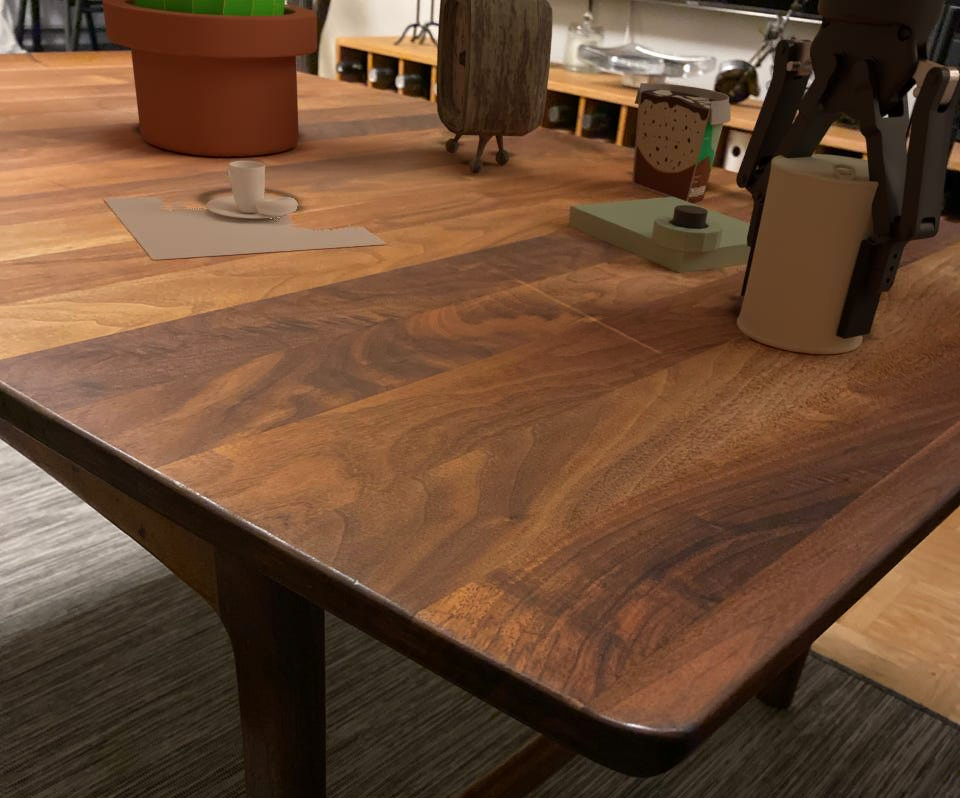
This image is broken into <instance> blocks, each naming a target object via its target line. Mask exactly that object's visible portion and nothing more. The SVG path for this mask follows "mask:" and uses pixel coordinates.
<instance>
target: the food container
mask: <svg viewBox="0 0 960 798" xmlns="http://www.w3.org/2000/svg"><path fill="white" fill-rule="evenodd" d="M634 105H637V117H636V118H637V119H636V128H635V129H636V131H635V142H634V153H633V167H632V179H631V181H632V182H631V185H634V186H637V187H638V188H639V187H640V188H642V189H644V190H648V191H650V192H652V193H653V192H654V193H656V194H659V195H662V196H664V197H675V198H678V199H681V200H684V201H687V202H690V203H692V204H696V203H699V202H702V201H703V200H704V198H705V195H706V190H707V187H708V184H709V183H708V182H709V179H710V176H711V172H712V168H713V165H714V161H715V157H716V154H717V153H716V152H717V149H718V145H719V142H720V139H721V138H720V137H721V134H722V131H723V130H722V129H723V126H724V124H727V123H729V122H731V121H732V119H731V115H732V113H731V112H732V111H731V110H732V109H731V108H732V106H731V103H730V96H729V95H728V94H725V93H724V92H723V93H722V92H719V91H716V90H711V89H707V88H701V87H696V86H689V85H682V84H671V83H658V82H657V83H655V82H654V83H653V82H640V85H639V89H637V93H636V96H635V100H634Z"/></svg>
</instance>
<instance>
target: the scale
mask: <svg viewBox="0 0 960 798" xmlns="http://www.w3.org/2000/svg"><path fill="white" fill-rule="evenodd" d="M679 205H691V206H697V207H701V208H704V209H706V210H707V211H708V213H707V218H706V224H705V228H704V229H688V228H683V227H678V226H675V225H672V221H673V215H674V209H675V207H676V206H679ZM749 225H750V222H746V221H744V220H741V219H738V218H735V217H732V216H729V215H726V214H723V213H721V212H719V211H718V212H717V211H715V210H712V209H710V208H706V207H703V206H701V205H698V204H696V203H690V202H687V201H684V200H681V199H678V198H675V197H667V196H664V197H655V198H644V199H643V198H642V199H633V200H622V201H610V202H600V203H587V204H577V205H574V204H573V205H570V206H569V214H568V225H567V226H568V227H570V228H572V229H575V230H577V231H578V232H581V233H584V234H586V235H589V236H590V237H593V238H595V239H598V240H601V241H603V242H605V243H608V244H610V245H613V246H615V247H617V248H619V249H622V250H624V251H626V252H628V253H631V254H634V255H635V256H639V257H640V258H642V259H645V260H647V261H650V262H651V263H655V264H657V265H659V266H662V267H664V268H667V269H669V270H672V271H674V272H675V273H678V274H682V273H683V274H684V273H691V272H698V271H699V272H700V271H705V270H713V269H720V268H726V267H727V268H729V267H734V266H742V265H747V263H748V258H749V253H750V249H751V247H749V246H747V235H748V231H749Z"/></svg>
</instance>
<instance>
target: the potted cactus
mask: <svg viewBox="0 0 960 798" xmlns="http://www.w3.org/2000/svg"><path fill="white" fill-rule="evenodd" d="M102 9H103V10H102V11H103V17H104V25H105V34H106V39H107V40H108V41H109V42H111V43H113V44H116V45H118V46H122V47H126V48H130V52H131V53H130V54H131V62H132V70H133V71H132V72H133V78H134V79H133V80H134V89H135V98H136V106H137V115H138V123H139V131H140V134H141V137H142V139H143V140H144V142H146V143H148V144H150V145H151V146H154V147H157V148H159V149H163V150H166V151H170V152H174V153H180V154H186V155H192V156H204V157H221V158H222V157H223V158H224V157H225V158H226V157H227V158H228V157H230V158H231V156H236V157H254V155H255V156H263V155H264V154H265V155H271V154H278V153H282V152H285V151H288V150H290V149H293V148H295V147H296V146H297V145H298V143H299V132H300V131H299V105H298V103H299V102H298V78H297V77H298V73H297V72H298V69H297V57H300V56H305V55H310V54H314V53H316V52H317V50H318V15H317V12H316V11H314V10H312V9H309V8H306V7H301V6H296V5H291V4H286V0H102ZM265 155H264V156H265Z"/></svg>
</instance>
